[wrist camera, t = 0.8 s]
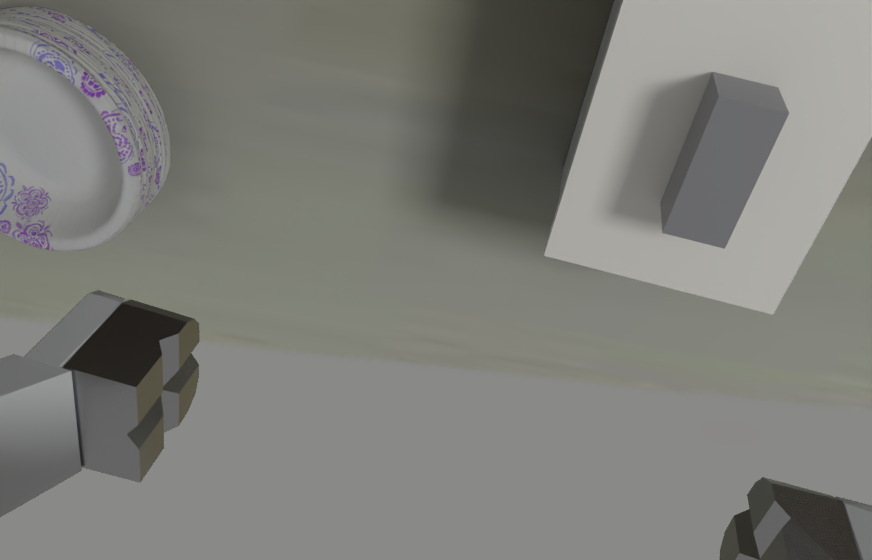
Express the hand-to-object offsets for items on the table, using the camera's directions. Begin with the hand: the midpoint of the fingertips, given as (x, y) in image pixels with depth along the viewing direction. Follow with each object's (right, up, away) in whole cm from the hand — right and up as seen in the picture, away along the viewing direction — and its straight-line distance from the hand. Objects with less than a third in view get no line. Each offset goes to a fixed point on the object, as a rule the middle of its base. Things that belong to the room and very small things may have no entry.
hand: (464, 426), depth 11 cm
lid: (+13, +10, +28) cm, 33 cm away
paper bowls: (-25, +15, +44) cm, 53 cm away
